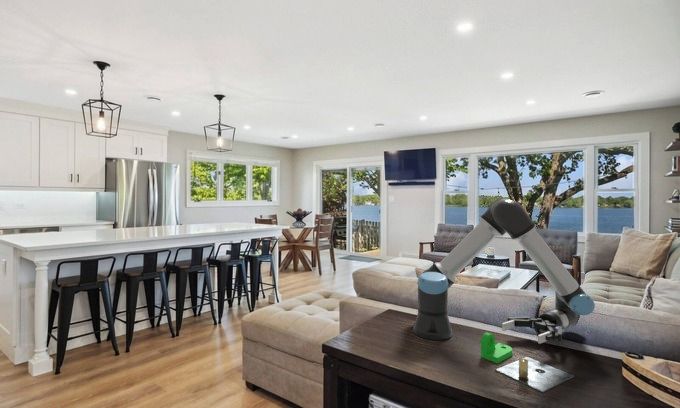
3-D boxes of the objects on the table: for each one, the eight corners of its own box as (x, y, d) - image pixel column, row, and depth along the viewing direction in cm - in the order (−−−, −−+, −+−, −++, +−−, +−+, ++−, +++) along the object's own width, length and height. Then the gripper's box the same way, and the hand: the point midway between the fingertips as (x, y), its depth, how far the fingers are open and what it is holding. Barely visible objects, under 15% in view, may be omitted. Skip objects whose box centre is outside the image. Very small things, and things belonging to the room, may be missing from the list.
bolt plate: (495, 370, 115) (495, 352, 115) (526, 357, 124) (527, 340, 124) (542, 392, 102) (542, 371, 102) (574, 376, 111) (574, 357, 111)
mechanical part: (497, 363, 120) (497, 340, 120) (480, 357, 125) (481, 334, 125) (515, 354, 127) (515, 331, 127) (499, 348, 132) (499, 326, 132)
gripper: (588, 342, 130) (555, 356, 119) (522, 321, 152) (489, 332, 141) (588, 321, 130) (556, 334, 119) (522, 304, 151) (489, 313, 140)
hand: (520, 333), depth 130 cm, fingers open, 13 cm apart
